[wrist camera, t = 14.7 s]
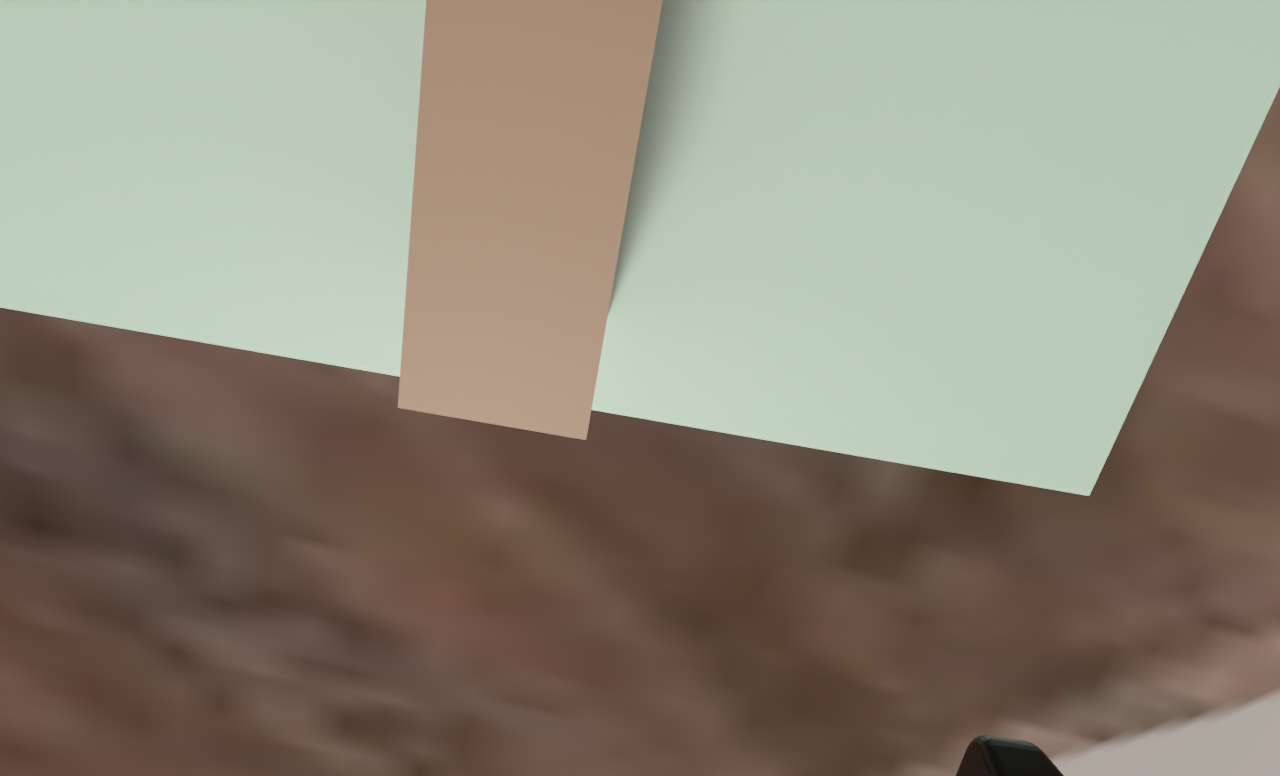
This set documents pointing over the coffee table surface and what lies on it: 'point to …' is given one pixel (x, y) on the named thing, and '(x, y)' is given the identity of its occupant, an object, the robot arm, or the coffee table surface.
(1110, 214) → the lid
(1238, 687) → the coffee table surface
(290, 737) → the coffee table surface
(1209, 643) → the coffee table surface
